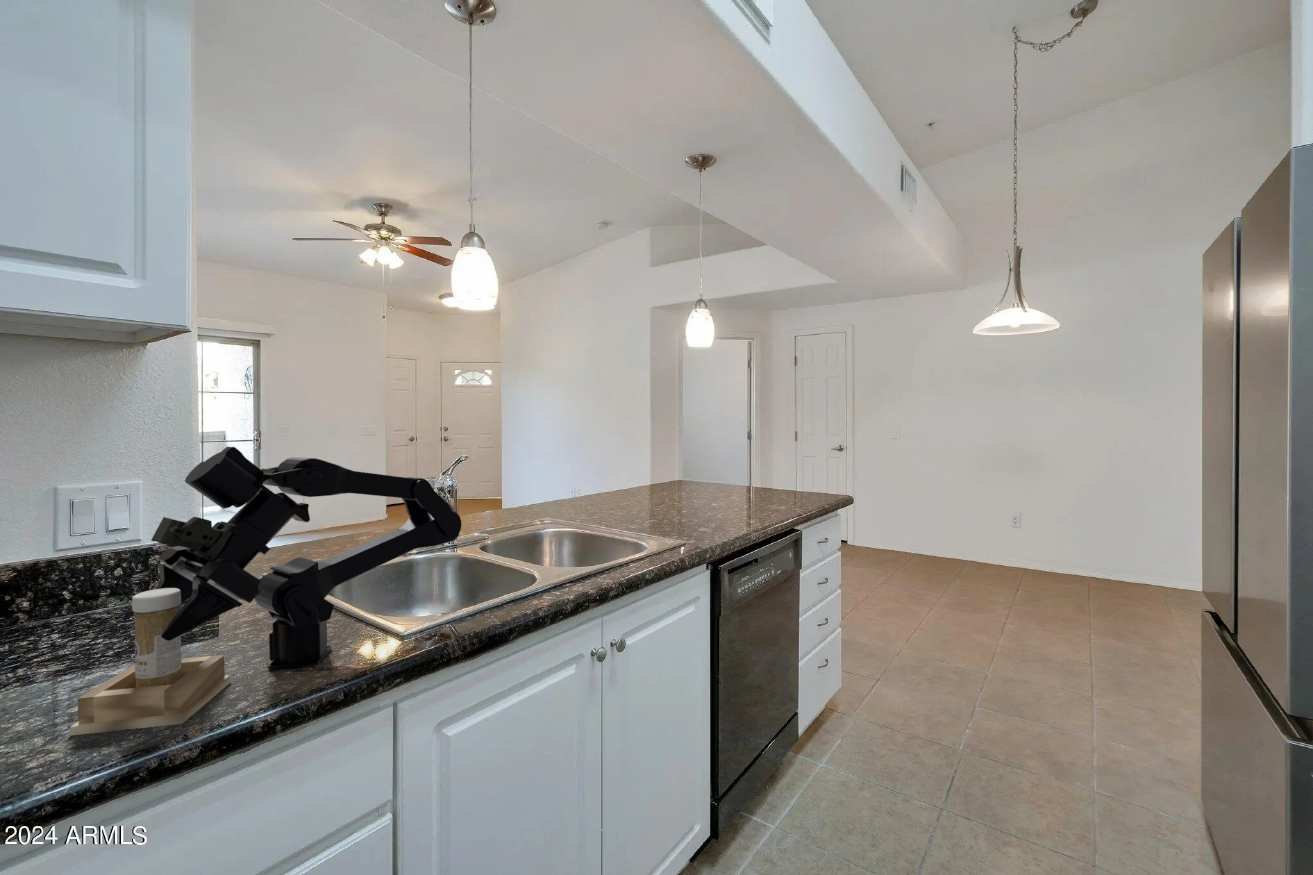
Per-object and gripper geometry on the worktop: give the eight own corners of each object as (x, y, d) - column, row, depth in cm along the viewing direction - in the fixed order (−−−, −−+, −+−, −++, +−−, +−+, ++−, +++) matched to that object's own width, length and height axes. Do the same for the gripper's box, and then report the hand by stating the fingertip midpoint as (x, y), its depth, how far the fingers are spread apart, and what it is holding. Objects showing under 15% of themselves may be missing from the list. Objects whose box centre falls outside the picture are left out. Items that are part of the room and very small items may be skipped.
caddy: (230, 681, 77) (230, 653, 77) (182, 723, 66) (181, 690, 66) (136, 690, 74) (135, 661, 74) (70, 735, 64) (69, 701, 64)
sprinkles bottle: (127, 703, 69) (124, 594, 69) (171, 687, 73) (169, 585, 73) (146, 710, 67) (143, 599, 67) (191, 693, 71) (188, 588, 71)
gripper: (175, 488, 79) (65, 585, 70) (229, 497, 69) (109, 612, 60) (242, 534, 86) (149, 628, 77) (300, 549, 75) (202, 659, 66)
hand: (151, 631), depth 70 cm, fingers open, 9 cm apart
